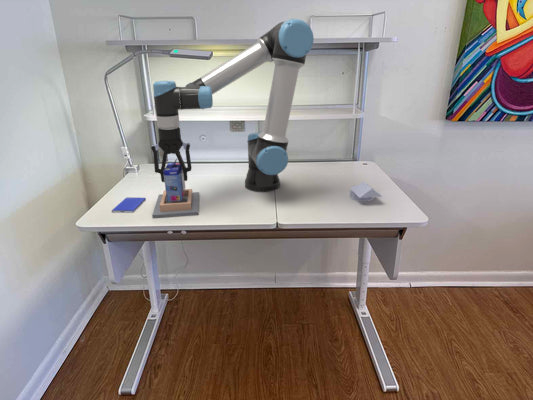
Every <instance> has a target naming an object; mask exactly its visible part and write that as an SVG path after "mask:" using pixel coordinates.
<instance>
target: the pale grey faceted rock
mask: <svg viewBox="0 0 533 400" xmlns="http://www.w3.org/2000/svg"><path fill="white" fill-rule="evenodd" d="M349 192H350V193H349V198H350V199H352V200H354V201H358V202H368V201H372V200H373V199H374V198H378V197H382V195H381V194H380V193H379V192H378V191H377V190H375V189H374V188H373V187H372V186H370V185H369V184H368V183H366V182H365V181H361V182H359V184H357V185H352V186H351V187H350V190H349Z"/></svg>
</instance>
